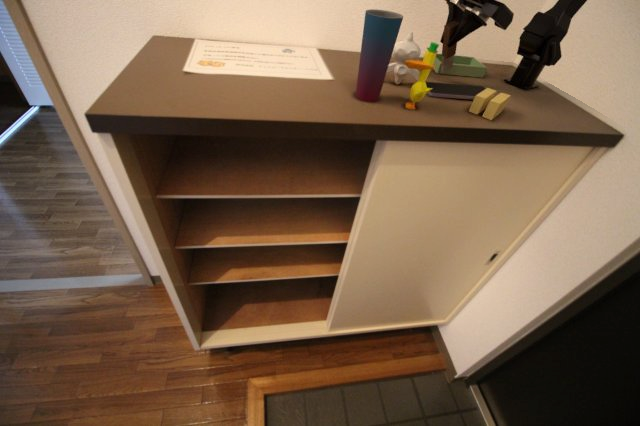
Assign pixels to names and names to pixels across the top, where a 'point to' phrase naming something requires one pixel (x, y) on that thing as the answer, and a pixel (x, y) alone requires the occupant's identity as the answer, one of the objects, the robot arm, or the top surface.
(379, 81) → the cup
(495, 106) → the butter
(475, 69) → the tray
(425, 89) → the toy figure
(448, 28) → the knife
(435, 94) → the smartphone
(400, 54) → the figurine
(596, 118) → the top surface
